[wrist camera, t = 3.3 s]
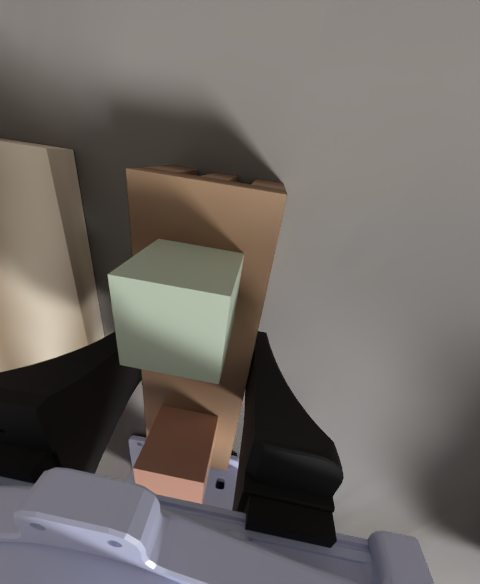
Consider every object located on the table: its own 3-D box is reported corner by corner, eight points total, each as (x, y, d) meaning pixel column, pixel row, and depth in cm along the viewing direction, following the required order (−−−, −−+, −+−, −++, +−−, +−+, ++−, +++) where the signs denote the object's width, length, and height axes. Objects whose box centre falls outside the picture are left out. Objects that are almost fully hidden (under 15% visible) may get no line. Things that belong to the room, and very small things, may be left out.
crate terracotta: (218, 416, 13) (203, 483, 10) (213, 449, 14) (200, 514, 12) (161, 405, 13) (133, 468, 10) (162, 438, 14) (137, 501, 12)
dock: (73, 149, 11) (46, 148, 10) (116, 406, 20) (104, 424, 19) (-133, 117, 12) (-185, 111, 10) (-3, 383, 20) (-22, 398, 19)
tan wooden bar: (172, 165, 11) (125, 168, 8) (283, 182, 11) (287, 194, 7) (171, 399, 19) (147, 454, 15) (236, 412, 19) (227, 471, 15)
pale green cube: (244, 253, 8) (231, 296, 6) (233, 324, 10) (218, 384, 7) (158, 238, 9) (107, 274, 6) (160, 310, 10) (119, 365, 7)
